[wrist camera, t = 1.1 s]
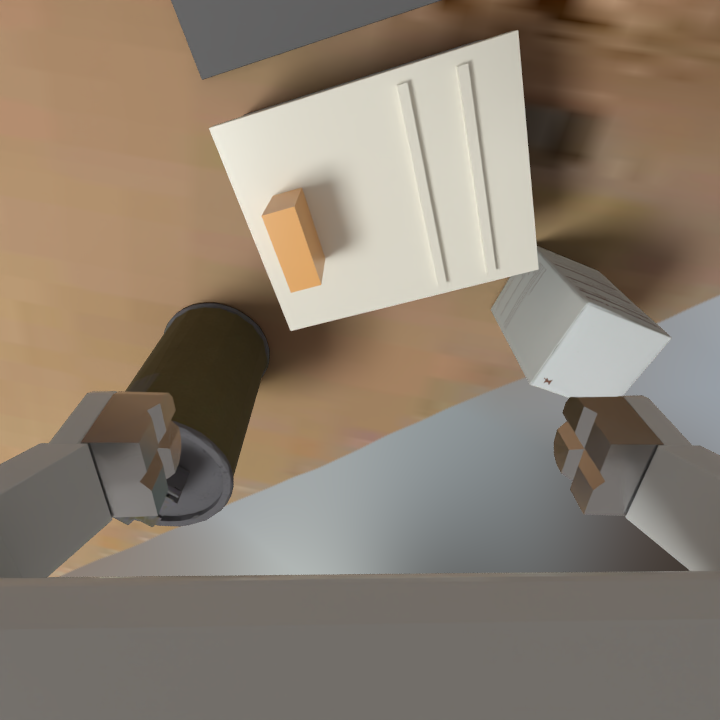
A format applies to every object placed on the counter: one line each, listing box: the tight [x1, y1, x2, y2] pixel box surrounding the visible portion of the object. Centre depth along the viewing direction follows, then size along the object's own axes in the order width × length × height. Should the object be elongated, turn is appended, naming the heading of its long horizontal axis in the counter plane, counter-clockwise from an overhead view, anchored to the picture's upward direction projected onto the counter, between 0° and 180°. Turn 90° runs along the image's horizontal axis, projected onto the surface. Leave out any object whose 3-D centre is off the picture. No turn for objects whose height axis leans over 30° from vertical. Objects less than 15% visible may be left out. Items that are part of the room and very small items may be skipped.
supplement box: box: [491, 246, 671, 398], centre depth 40 cm, size 7×7×13 cm
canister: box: [113, 303, 269, 527], centre depth 41 cm, size 11×10×20 cm
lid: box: [209, 30, 539, 331], centre depth 31 cm, size 19×15×7 cm
